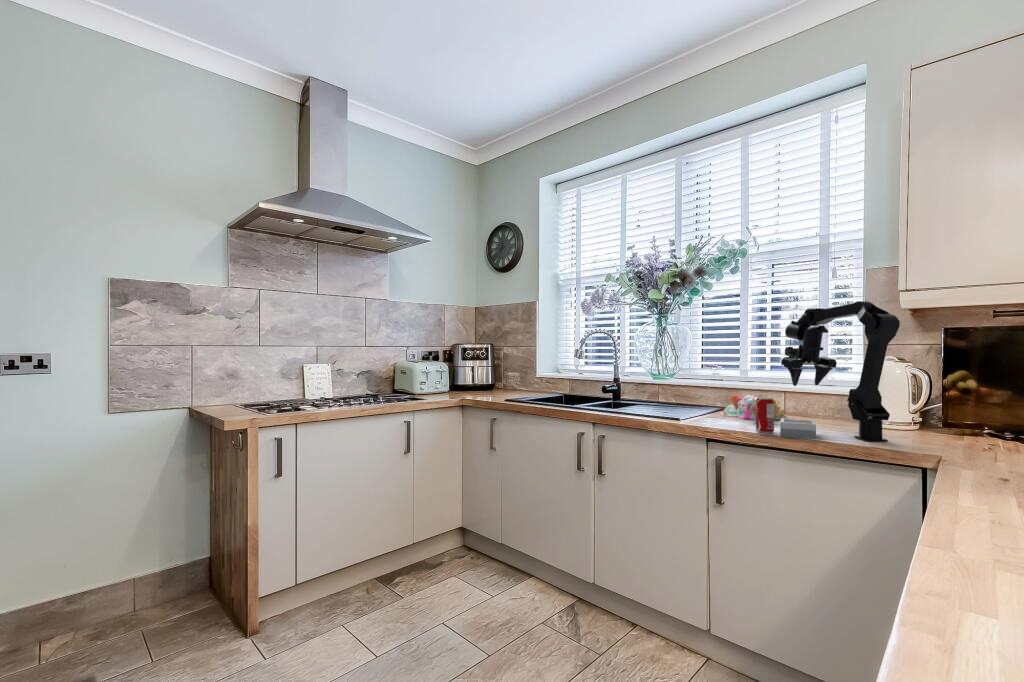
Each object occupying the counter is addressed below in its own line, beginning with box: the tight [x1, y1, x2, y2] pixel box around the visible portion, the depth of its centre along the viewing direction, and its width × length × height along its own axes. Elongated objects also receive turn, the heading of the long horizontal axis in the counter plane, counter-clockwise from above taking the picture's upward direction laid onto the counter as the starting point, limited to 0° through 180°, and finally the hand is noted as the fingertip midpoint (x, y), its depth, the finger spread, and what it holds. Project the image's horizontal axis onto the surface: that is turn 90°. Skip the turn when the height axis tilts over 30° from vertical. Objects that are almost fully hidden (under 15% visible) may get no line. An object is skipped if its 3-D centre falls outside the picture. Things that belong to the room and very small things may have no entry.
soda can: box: [755, 396, 775, 434], centre depth 170 cm, size 6×6×12 cm
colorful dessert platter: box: [720, 393, 787, 421], centre depth 207 cm, size 25×24×9 cm
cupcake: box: [750, 391, 775, 422], centre depth 189 cm, size 9×8×12 cm
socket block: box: [779, 417, 817, 440], centre depth 164 cm, size 10×10×4 cm
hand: (805, 385), depth 181 cm, fingers open, 9 cm apart
